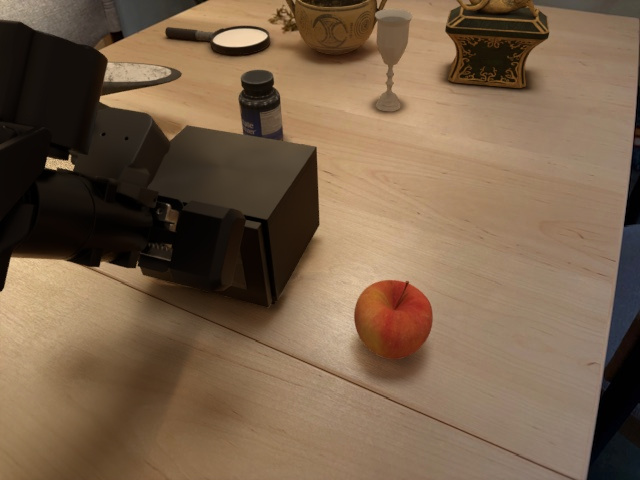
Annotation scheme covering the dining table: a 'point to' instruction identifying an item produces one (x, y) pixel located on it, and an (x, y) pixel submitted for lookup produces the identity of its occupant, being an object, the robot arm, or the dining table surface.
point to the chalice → (391, 49)
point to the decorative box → (494, 41)
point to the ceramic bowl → (335, 23)
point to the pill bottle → (260, 105)
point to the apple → (393, 318)
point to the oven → (249, 188)
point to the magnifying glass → (227, 38)
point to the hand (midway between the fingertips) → (181, 235)
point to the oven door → (241, 270)
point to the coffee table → (135, 77)
